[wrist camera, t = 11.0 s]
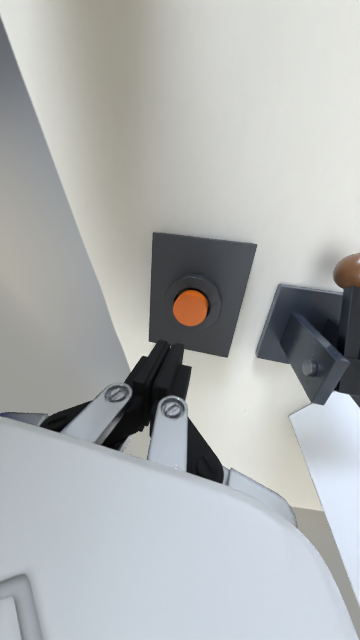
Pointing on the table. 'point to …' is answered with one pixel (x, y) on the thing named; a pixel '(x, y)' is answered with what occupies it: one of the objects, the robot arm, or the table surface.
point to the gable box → (335, 471)
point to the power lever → (349, 322)
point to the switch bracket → (306, 338)
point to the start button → (190, 308)
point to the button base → (198, 289)
